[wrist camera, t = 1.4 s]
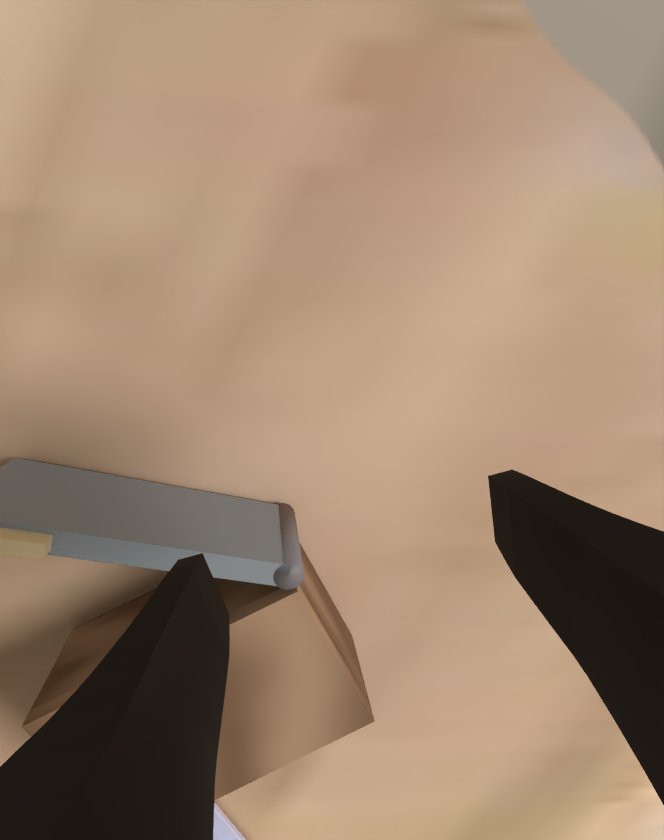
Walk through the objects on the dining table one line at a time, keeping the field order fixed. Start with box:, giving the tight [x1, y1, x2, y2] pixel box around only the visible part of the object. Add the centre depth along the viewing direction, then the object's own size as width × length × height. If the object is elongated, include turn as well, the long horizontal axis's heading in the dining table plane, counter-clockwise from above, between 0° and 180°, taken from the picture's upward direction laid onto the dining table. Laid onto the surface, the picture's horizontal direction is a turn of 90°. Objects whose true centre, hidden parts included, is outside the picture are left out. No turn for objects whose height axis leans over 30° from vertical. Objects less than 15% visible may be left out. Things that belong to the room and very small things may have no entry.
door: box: [0, 457, 304, 590], centre depth 19 cm, size 13×1×6 cm, turn 75°
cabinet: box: [22, 543, 374, 800], centre depth 22 cm, size 12×8×5 cm, turn 115°
